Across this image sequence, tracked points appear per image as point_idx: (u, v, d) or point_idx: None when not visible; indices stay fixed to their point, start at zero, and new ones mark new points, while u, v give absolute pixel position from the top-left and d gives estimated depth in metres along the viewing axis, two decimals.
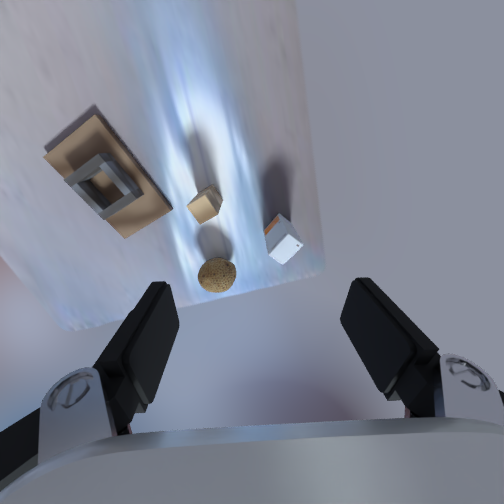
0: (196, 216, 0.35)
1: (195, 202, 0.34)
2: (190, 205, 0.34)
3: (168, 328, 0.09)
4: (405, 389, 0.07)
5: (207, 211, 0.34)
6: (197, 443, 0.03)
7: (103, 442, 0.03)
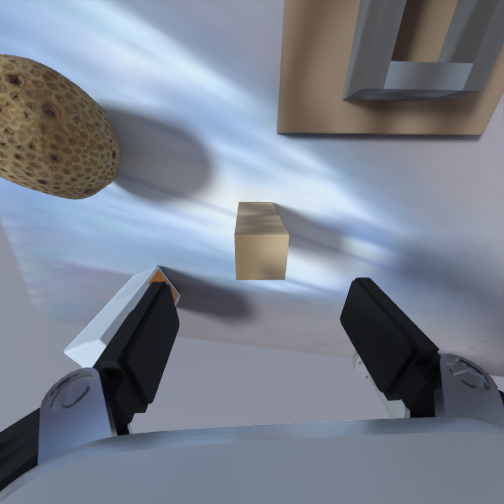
0: (256, 239, 0.14)
1: (284, 256, 0.15)
2: (285, 243, 0.14)
3: (168, 328, 0.09)
4: (405, 389, 0.07)
5: (253, 266, 0.15)
6: (196, 442, 0.03)
7: (103, 442, 0.03)
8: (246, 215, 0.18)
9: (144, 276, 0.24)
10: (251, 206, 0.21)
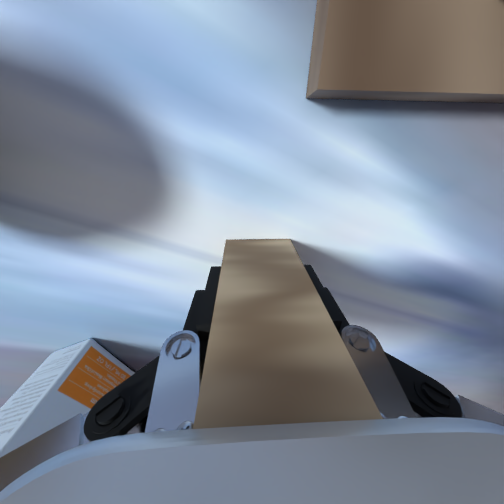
0: None
1: None
2: None
3: None
4: None
5: None
6: (196, 442, 0.03)
7: (103, 442, 0.03)
8: (239, 301, 0.07)
9: (57, 369, 0.14)
10: (250, 255, 0.10)
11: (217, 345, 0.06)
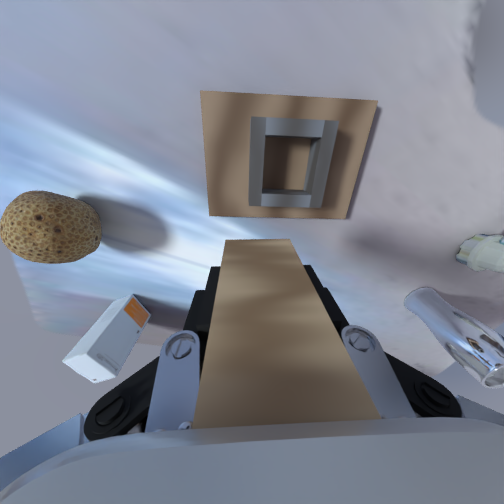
0: None
1: None
2: None
3: None
4: None
5: None
6: (196, 442, 0.03)
7: (103, 442, 0.03)
8: (238, 301, 0.07)
9: (121, 303, 0.33)
10: (249, 255, 0.10)
11: (216, 345, 0.06)
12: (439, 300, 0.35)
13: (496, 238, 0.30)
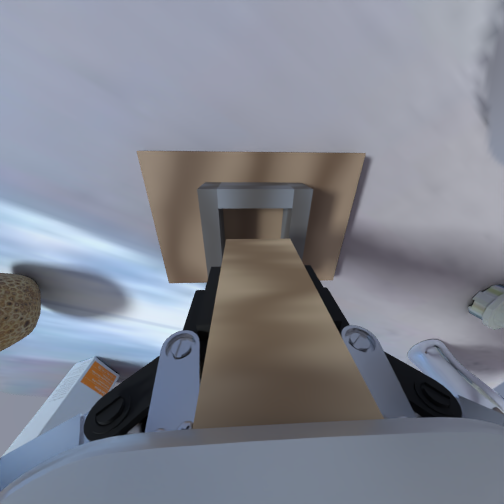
0: None
1: None
2: None
3: None
4: None
5: None
6: (196, 442, 0.03)
7: (103, 442, 0.03)
8: (239, 300, 0.07)
9: (79, 372, 0.29)
10: (250, 254, 0.10)
11: (217, 345, 0.05)
12: (448, 359, 0.30)
13: None
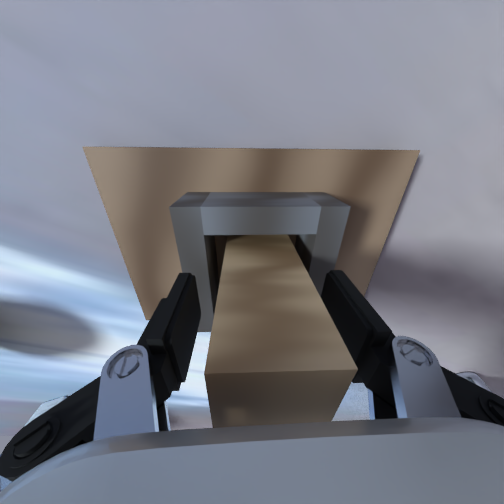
0: (265, 379, 0.05)
1: (333, 404, 0.06)
2: (342, 384, 0.05)
3: (194, 316, 0.09)
4: (365, 370, 0.07)
5: (254, 419, 0.06)
6: (197, 443, 0.03)
7: (103, 442, 0.03)
8: (241, 270, 0.09)
9: None
10: (249, 239, 0.12)
11: (224, 297, 0.07)
12: None
13: None
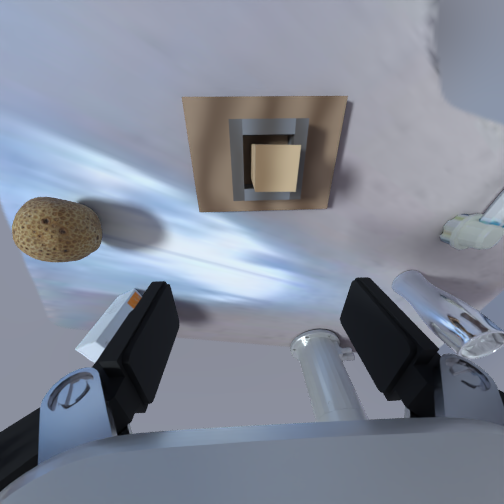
0: (273, 149, 0.17)
1: (295, 167, 0.18)
2: (297, 153, 0.17)
3: (168, 328, 0.09)
4: (405, 389, 0.07)
5: (269, 177, 0.18)
6: (197, 442, 0.03)
7: (103, 442, 0.03)
8: None
9: (124, 297, 0.36)
10: None
11: (256, 144, 0.19)
12: (423, 281, 0.36)
13: (476, 217, 0.31)
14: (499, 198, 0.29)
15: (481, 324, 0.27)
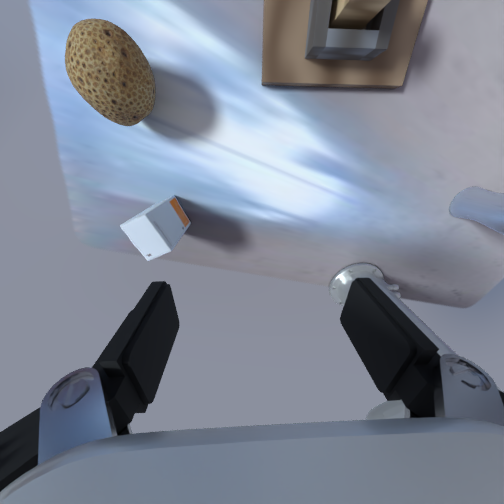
0: None
1: None
2: None
3: (168, 328, 0.09)
4: (405, 389, 0.07)
5: None
6: (196, 443, 0.03)
7: (103, 442, 0.03)
8: None
9: (165, 199, 0.33)
10: None
11: None
12: (491, 191, 0.33)
13: None
14: None
15: None
